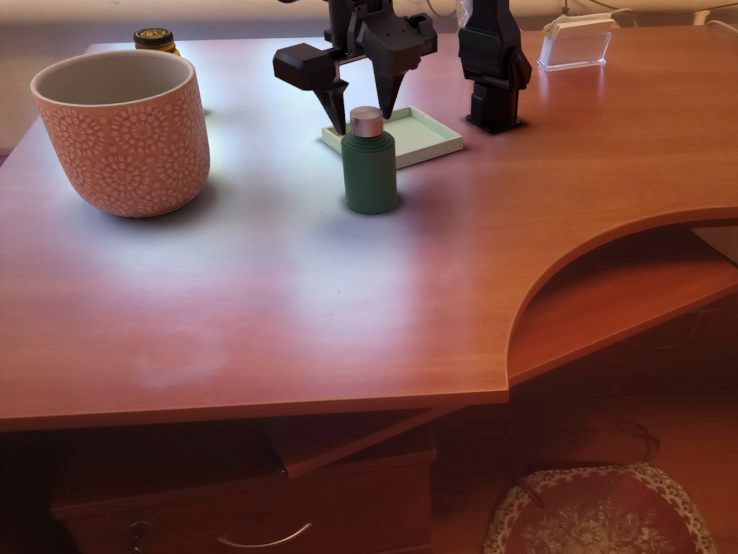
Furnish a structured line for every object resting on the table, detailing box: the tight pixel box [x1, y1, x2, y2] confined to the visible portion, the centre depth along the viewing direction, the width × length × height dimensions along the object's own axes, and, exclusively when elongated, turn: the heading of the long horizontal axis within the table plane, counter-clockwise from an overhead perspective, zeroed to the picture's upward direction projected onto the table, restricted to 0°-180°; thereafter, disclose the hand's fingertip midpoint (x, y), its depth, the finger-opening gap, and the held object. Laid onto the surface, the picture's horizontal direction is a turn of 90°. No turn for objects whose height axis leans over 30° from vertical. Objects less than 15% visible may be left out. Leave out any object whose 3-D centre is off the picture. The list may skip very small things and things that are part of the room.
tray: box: [320, 104, 464, 170], centre depth 102 cm, size 15×13×2 cm
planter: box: [29, 48, 211, 219], centre depth 85 cm, size 17×17×15 cm
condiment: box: [132, 27, 206, 114], centre depth 104 cm, size 7×8×12 cm
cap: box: [349, 105, 384, 137], centre depth 84 cm, size 4×4×2 cm
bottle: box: [341, 131, 398, 215], centre depth 87 cm, size 6×6×11 cm
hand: (364, 126), depth 84 cm, fingers open, 6 cm apart
